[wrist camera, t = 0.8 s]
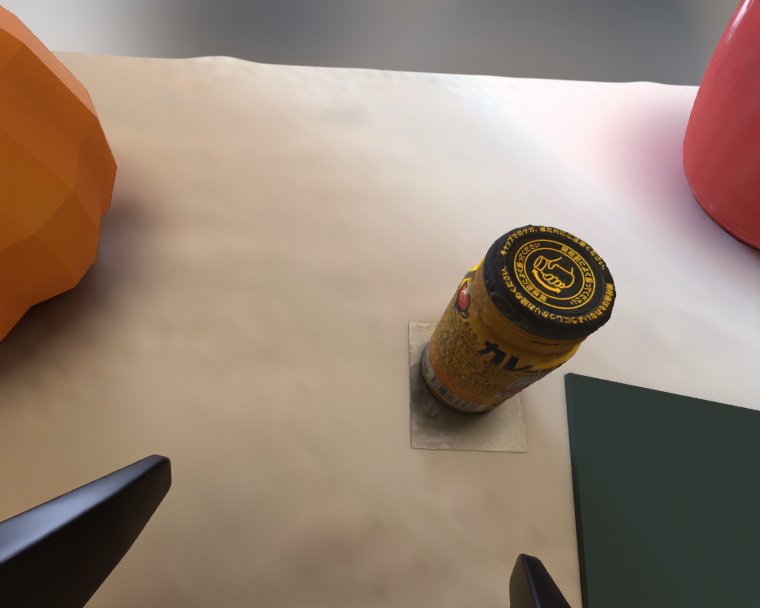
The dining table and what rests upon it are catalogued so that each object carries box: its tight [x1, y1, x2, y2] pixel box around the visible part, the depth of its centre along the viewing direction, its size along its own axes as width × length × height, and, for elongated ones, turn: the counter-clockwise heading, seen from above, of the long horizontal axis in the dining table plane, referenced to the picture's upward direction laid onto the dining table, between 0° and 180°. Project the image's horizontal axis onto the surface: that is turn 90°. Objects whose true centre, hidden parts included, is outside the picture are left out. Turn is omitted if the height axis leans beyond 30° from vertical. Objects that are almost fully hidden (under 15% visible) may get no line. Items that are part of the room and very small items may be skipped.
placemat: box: [565, 373, 760, 608], centre depth 20 cm, size 20×14×1 cm
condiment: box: [409, 225, 616, 452], centre depth 19 cm, size 7×8×12 cm
